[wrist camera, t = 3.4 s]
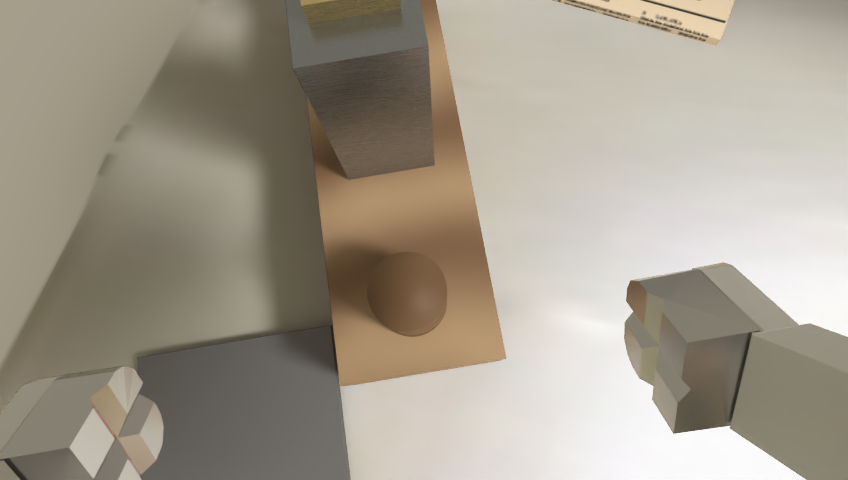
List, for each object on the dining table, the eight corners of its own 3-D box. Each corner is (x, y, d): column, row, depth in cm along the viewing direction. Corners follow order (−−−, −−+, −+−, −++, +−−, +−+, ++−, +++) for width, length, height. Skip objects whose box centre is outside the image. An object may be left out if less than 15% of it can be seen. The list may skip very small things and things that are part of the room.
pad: (144, 358, 27) (137, 357, 27) (332, 326, 27) (330, 325, 27) (149, 571, 25) (142, 575, 24) (357, 536, 25) (354, 540, 24)
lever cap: (338, 102, 25) (271, -65, 15) (421, 88, 25) (405, -88, 15) (349, 179, 24) (284, 51, 14) (434, 165, 24) (427, 28, 14)
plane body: (310, 18, 32) (259, -116, 23) (428, -2, 32) (422, -143, 23) (355, 384, 26) (310, 390, 18) (499, 360, 26) (525, 354, 18)
